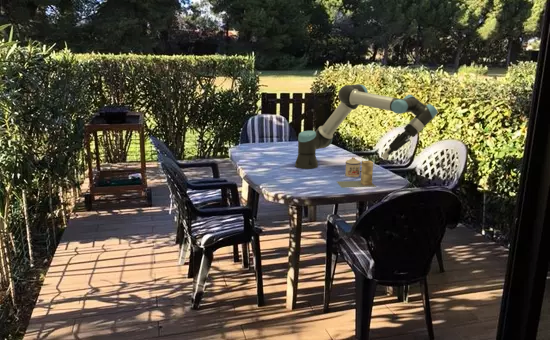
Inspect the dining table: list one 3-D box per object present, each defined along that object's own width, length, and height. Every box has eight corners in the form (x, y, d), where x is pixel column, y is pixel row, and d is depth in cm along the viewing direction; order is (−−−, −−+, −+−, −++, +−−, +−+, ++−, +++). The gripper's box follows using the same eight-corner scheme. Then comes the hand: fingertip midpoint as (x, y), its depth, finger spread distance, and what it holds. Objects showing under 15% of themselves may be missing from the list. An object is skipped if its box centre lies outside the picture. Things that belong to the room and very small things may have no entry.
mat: (369, 181, 258) (369, 180, 258) (376, 187, 246) (376, 186, 246) (336, 182, 256) (336, 181, 256) (341, 188, 244) (341, 187, 244)
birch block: (369, 182, 254) (370, 160, 251) (371, 184, 249) (373, 162, 246) (360, 182, 254) (361, 160, 251) (363, 185, 249) (364, 162, 246)
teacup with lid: (347, 178, 266) (348, 159, 263) (343, 174, 275) (343, 156, 272) (366, 177, 268) (367, 158, 265) (361, 174, 276) (362, 155, 274)
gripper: (422, 134, 241) (391, 164, 243) (413, 130, 254) (383, 159, 256) (414, 124, 239) (382, 155, 241) (404, 121, 252) (375, 150, 254)
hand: (383, 157), depth 249 cm, fingers closed
